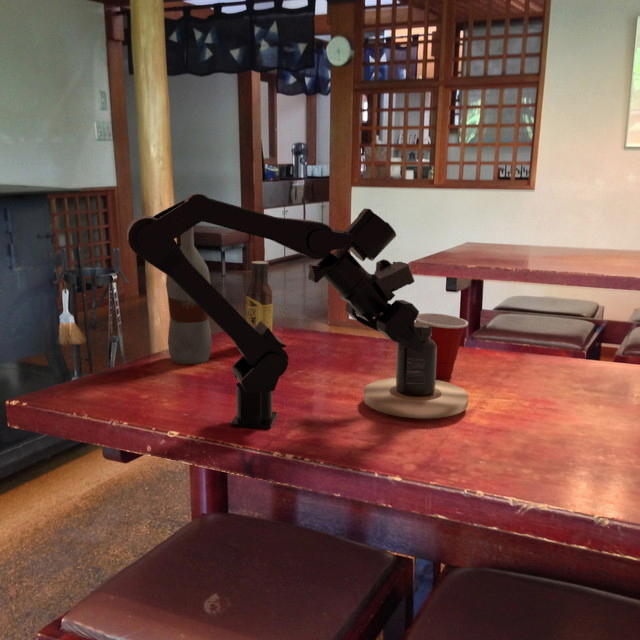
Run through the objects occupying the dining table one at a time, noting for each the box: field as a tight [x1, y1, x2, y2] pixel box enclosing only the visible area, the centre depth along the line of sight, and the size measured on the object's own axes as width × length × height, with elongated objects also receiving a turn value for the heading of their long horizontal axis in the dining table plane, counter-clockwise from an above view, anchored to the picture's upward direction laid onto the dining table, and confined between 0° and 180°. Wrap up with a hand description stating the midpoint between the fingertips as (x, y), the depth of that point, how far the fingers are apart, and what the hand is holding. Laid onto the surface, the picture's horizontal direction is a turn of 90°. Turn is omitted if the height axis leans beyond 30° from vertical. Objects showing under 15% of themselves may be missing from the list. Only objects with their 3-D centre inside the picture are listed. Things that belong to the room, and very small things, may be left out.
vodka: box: [165, 226, 213, 365], centre depth 142 cm, size 9×9×30 cm
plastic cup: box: [415, 312, 469, 380], centre depth 135 cm, size 11×11×12 cm
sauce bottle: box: [245, 260, 274, 333], centre depth 156 cm, size 7×6×20 cm
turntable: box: [363, 377, 469, 419], centre depth 117 cm, size 18×18×2 cm
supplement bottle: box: [395, 321, 437, 397], centre depth 115 cm, size 7×7×12 cm
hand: (410, 343), depth 114 cm, fingers open, 9 cm apart
